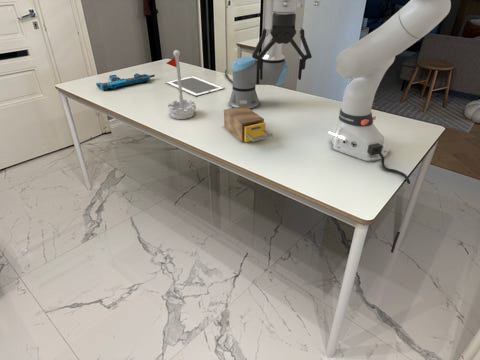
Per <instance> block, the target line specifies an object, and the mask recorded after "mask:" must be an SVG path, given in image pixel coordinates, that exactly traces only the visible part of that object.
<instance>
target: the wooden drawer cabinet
mask: <svg viewBox="0 0 480 360" xmlns="http://www.w3.org/2000/svg"><path fill="white" fill-rule="evenodd" d="M256 122H261V123H263V122H264V123H265V118H264V117H262V116H261V115H259V114H257V112H255V111H253V110H252V109H249V108H247V107H246V106H240V107H235V108H233V107H230V108H225V109H223V128H224V129H226V130H227V131H228V132H229V133H230V134H232V135H233V136H234V137H235V138H236V139H237V140H238V141H239V142H241V143H246V142H245V141H244V139H245V138H244V125H247V124H252V123H256Z"/></svg>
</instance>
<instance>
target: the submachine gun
mask: <svg viewBox="0 0 480 360" xmlns="http://www.w3.org/2000/svg"><path fill="white" fill-rule="evenodd" d="M154 77H156V75H155V74H150V75H149V74H146V73H142V74H140V73H135V74H133V77H129V78H121V77H119V76H117V75H116V74H112V75H109V79H110V80H111V81H108V82H96V83H95V84H96V85H95V86H96V87H97V88H99V89H100V90H101V91H103V90H108V89H110V90H112V89H113V90H116V88H120V87H123V86H128V85H133V84H138V83H143V82H148V81H149V80H150V79H151V78H154Z"/></svg>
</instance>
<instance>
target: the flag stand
mask: <svg viewBox="0 0 480 360" xmlns="http://www.w3.org/2000/svg"><path fill="white" fill-rule="evenodd" d="M180 55H181V51H180V50H178V49H175V50H174V51H173V56H174V57H173V58H172V59H170V60H168V61H167V62H166V63H165V64H167V65H169V66H172V67H174V68H176V78H177V80H178V88H177V89H178V96H179V101H178V100H177V99H175V100H171V102H169V103H168V104H167V107H168V111H169V112H170V115H171V117H172V118H173V119H177V120H186V119H190V118H192V117H194V115H195V111H196V108H197V106H196V103H195V101H194V100H189V101H187V99H186V98H185V99H184V95H183V90H182V85H181V79H182V76H181V65H180Z"/></svg>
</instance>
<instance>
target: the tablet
mask: <svg viewBox="0 0 480 360" xmlns="http://www.w3.org/2000/svg"><path fill="white" fill-rule="evenodd" d="M165 84H167V85H170V86H172V87H174V88H177V89H179V88H178V79H174V80H170V81H167V82H166V81H165ZM181 85H182V92H186V93H188V94H189V95H192V96H194V97H198V96H202V95H206V94H210V93H213V92H217V91H221V90H225V87H223V86H220V85H218V84H215V83H212V82H210V81H207V80H205V79H202V78H200V77H198V76H193V75H191V76H189V77H184V78H181Z"/></svg>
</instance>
